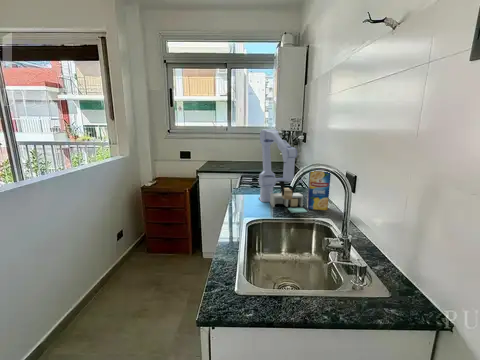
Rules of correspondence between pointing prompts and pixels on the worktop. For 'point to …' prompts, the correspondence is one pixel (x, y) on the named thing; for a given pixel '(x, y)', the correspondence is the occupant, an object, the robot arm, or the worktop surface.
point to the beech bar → (287, 194)
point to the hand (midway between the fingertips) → (287, 195)
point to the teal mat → (297, 210)
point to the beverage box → (318, 190)
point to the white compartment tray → (278, 199)
